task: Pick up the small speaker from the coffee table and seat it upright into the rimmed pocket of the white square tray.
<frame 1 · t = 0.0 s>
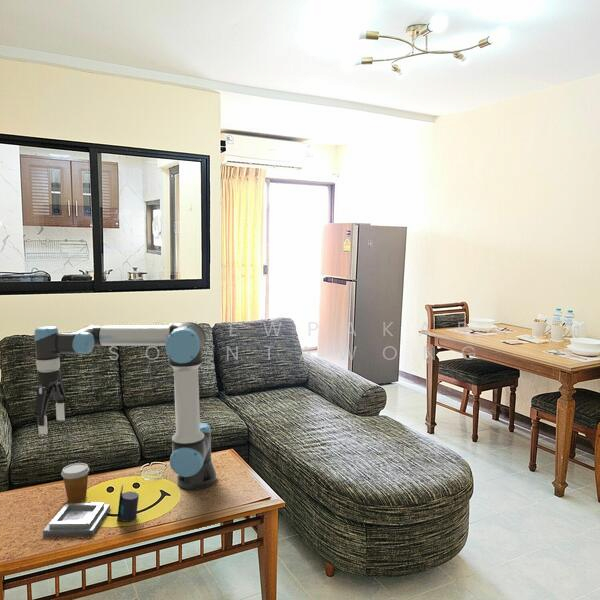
hand: (52, 426, 186), 28 cm above the table, tool pointing down, fingers open, 13 cm apart
disposable coffee cup: (77, 499, 190), on the table
speaker: (128, 517, 177), on the table
white square tray: (78, 522, 174), on the table
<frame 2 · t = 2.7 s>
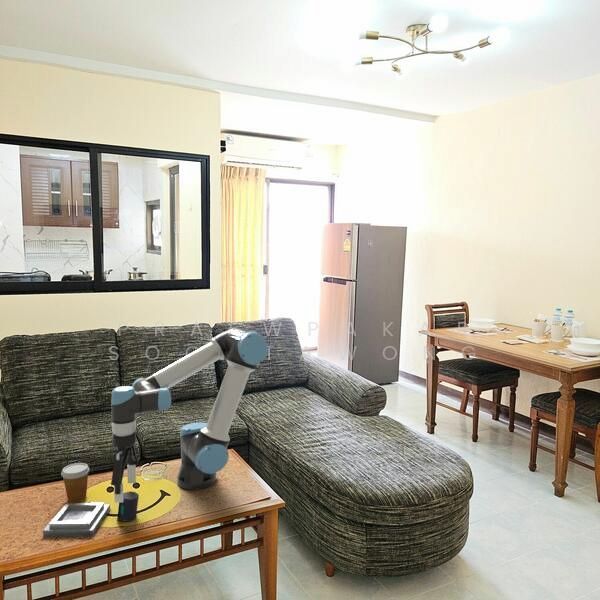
hand: (125, 492, 176), 9 cm above the table, tool pointing down, fingers open, 13 cm apart
nothing on the table moved.
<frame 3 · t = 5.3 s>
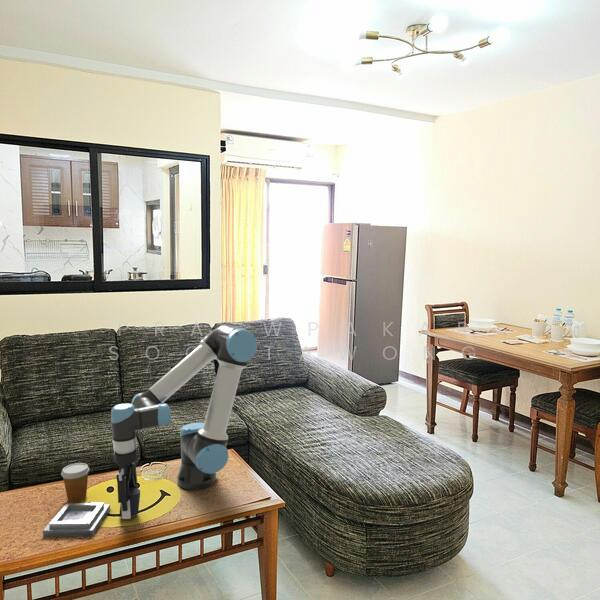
hand: (129, 513, 177), 1 cm above the table, tool pointing down, fingers closed on speaker, 6 cm apart
speaker: (130, 513, 178), point 1 cm above the table, touching gripper
everything else where it was.
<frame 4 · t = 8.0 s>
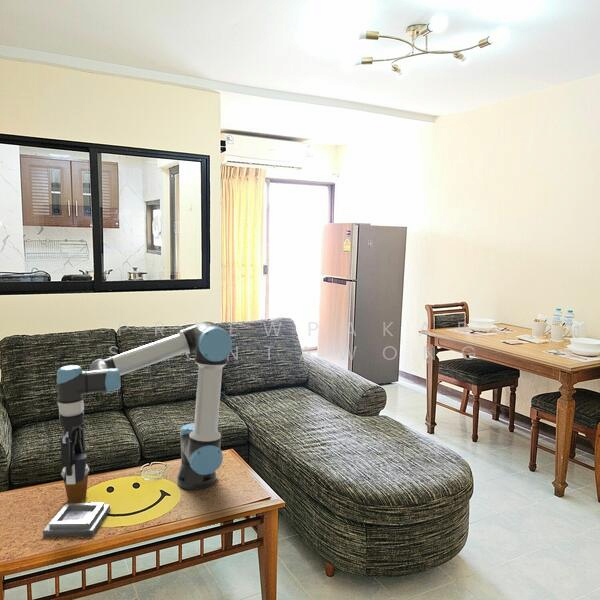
hand: (75, 478, 172), 16 cm above the table, tool pointing down, fingers closed on speaker, 6 cm apart
speaker: (76, 479, 173), point 15 cm above the table, touching gripper
everything else where it was.
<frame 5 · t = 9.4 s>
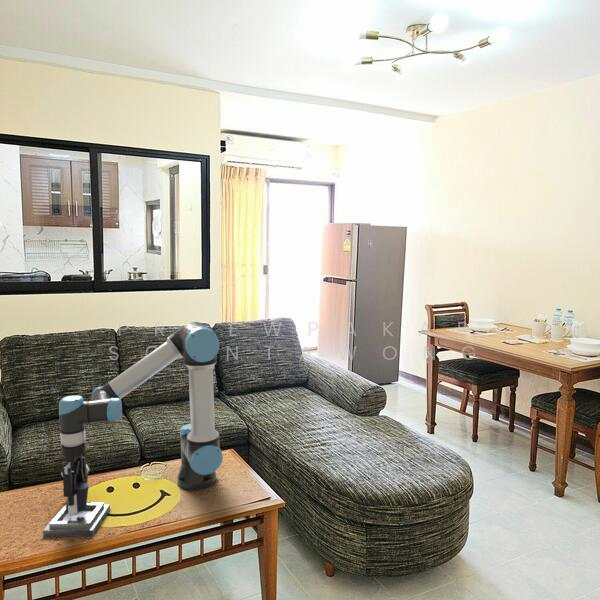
hand: (77, 508, 173), 5 cm above the table, tool pointing down, fingers closed on speaker, 6 cm apart
speaker: (78, 508, 174), point 5 cm above the table, touching gripper
everything else where it was.
when the fingers open (3 cm above the table, at t = 10.4 s): speaker stays where it is, resting on white square tray.
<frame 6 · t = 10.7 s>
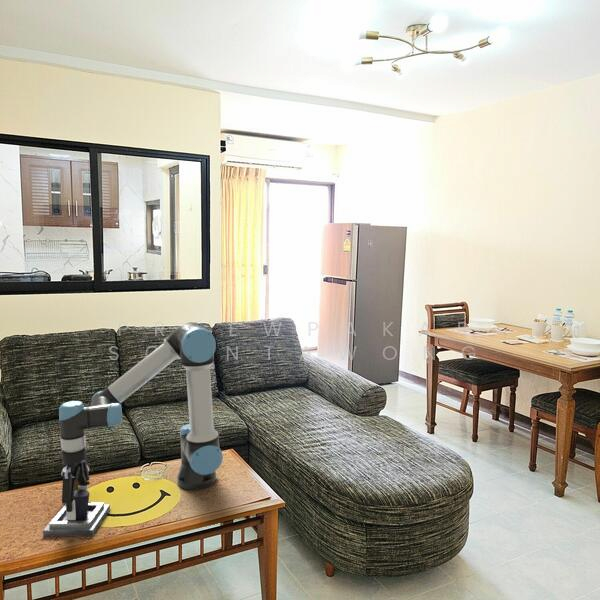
hand: (77, 511, 173), 4 cm above the table, tool pointing down, fingers open, 9 cm apart
speaker: (79, 516, 174), point 2 cm above the table, touching white square tray
everything else where it was.
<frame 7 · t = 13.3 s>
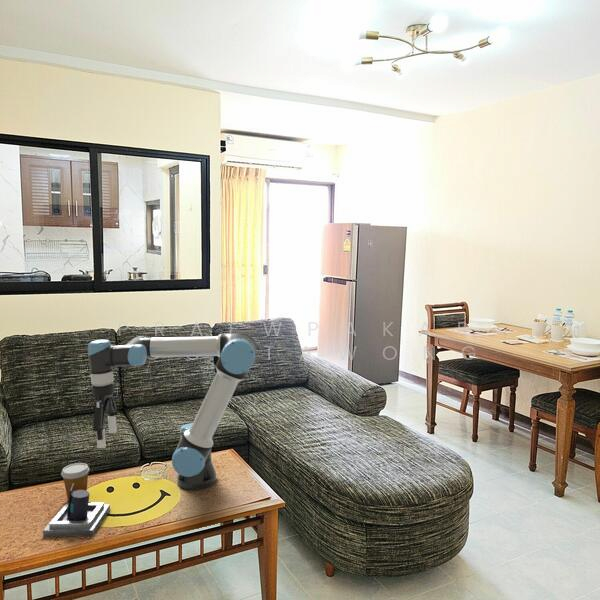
hand: (107, 440, 186), 23 cm above the table, tool pointing down, fingers open, 13 cm apart
nothing on the table moved.
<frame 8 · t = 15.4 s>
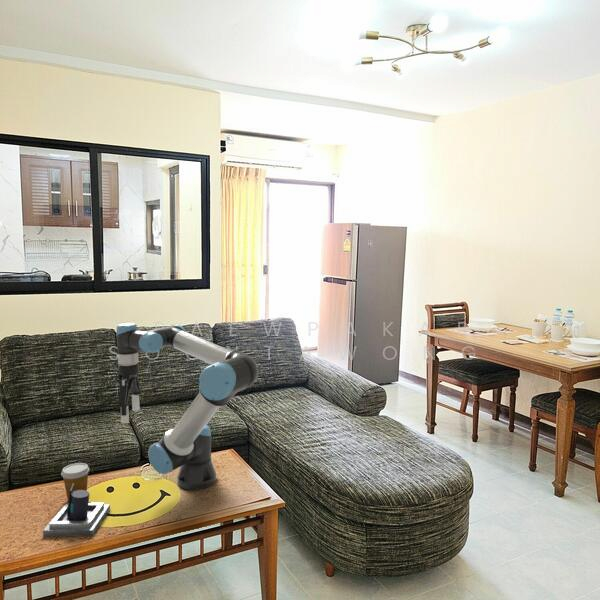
hand: (130, 416, 199), 27 cm above the table, tool pointing down, fingers open, 13 cm apart
nothing on the table moved.
at the end: speaker 0.7 cm off-centre on the white square tray, point 1.8 cm above the white square tray's base; speaker tilted 0°; the gripper is holding nothing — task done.
